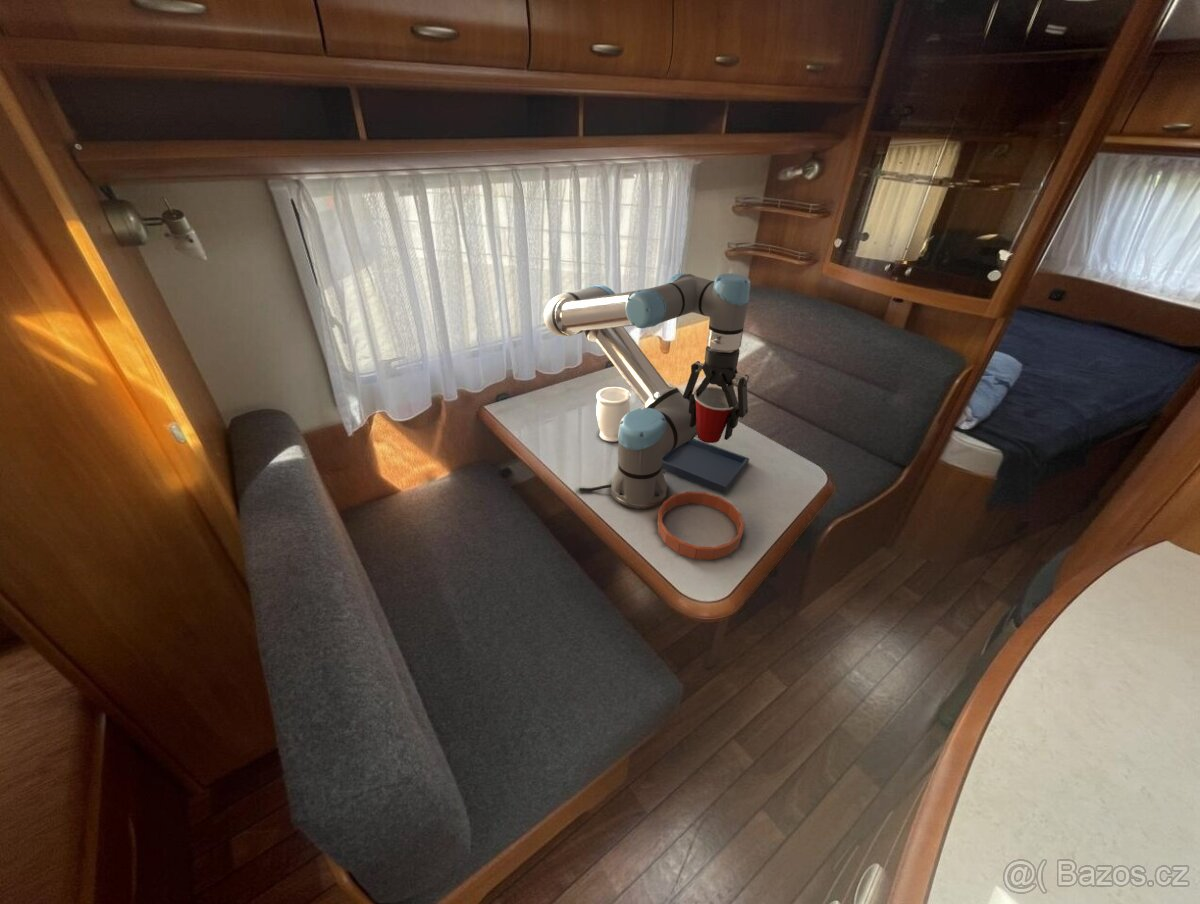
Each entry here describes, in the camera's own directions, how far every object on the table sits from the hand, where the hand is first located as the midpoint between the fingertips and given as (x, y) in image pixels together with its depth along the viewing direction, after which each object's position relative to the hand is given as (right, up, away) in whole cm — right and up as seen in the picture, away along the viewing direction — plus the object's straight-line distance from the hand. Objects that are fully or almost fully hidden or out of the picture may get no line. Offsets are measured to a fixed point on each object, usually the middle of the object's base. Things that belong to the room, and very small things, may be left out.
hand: (710, 430), depth 121 cm
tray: (+2, -10, +20) cm, 23 cm away
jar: (-24, 0, +34) cm, 42 cm away
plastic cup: (0, -2, +1) cm, 2 cm away
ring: (-3, -25, -1) cm, 25 cm away
